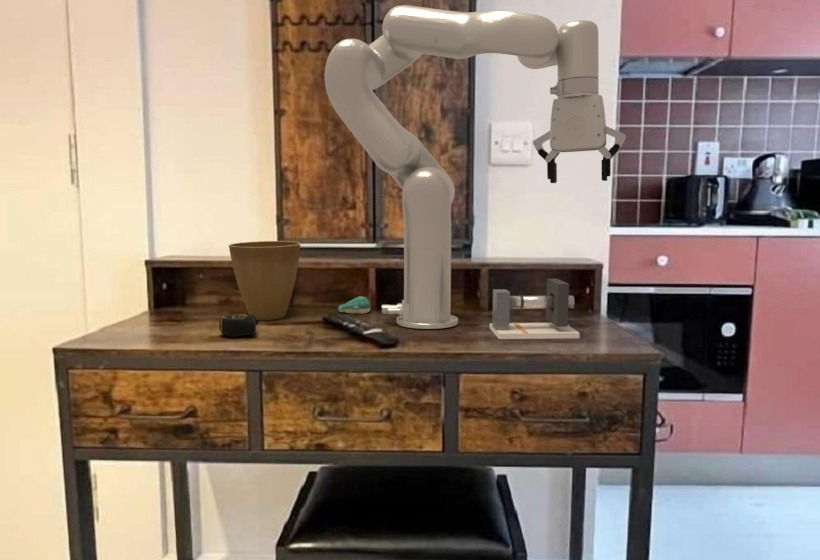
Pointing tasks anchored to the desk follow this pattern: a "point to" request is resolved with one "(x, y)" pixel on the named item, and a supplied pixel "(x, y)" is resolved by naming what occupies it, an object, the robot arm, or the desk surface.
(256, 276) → the plant pot
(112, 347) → the desk surface
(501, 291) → the rod with grey supports
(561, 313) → the dark grey holed plate
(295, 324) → the desk surface
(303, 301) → the desk surface
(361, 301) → the whale figurine
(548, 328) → the groove board
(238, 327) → the tape measure
